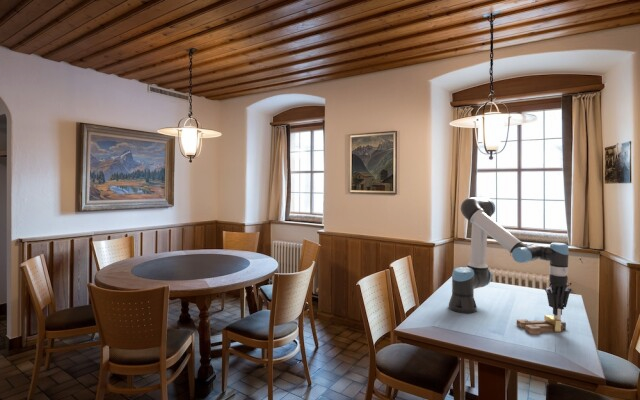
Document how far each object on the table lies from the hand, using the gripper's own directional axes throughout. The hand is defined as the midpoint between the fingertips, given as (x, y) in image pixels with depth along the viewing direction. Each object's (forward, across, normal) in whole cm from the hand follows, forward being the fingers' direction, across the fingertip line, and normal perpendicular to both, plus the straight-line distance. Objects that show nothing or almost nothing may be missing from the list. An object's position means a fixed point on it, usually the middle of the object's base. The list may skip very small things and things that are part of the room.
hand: (557, 321), depth 177 cm
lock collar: (+4, -2, 0) cm, 4 cm away
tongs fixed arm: (+4, -8, -2) cm, 9 cm away
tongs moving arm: (+4, -6, +3) cm, 8 cm away
